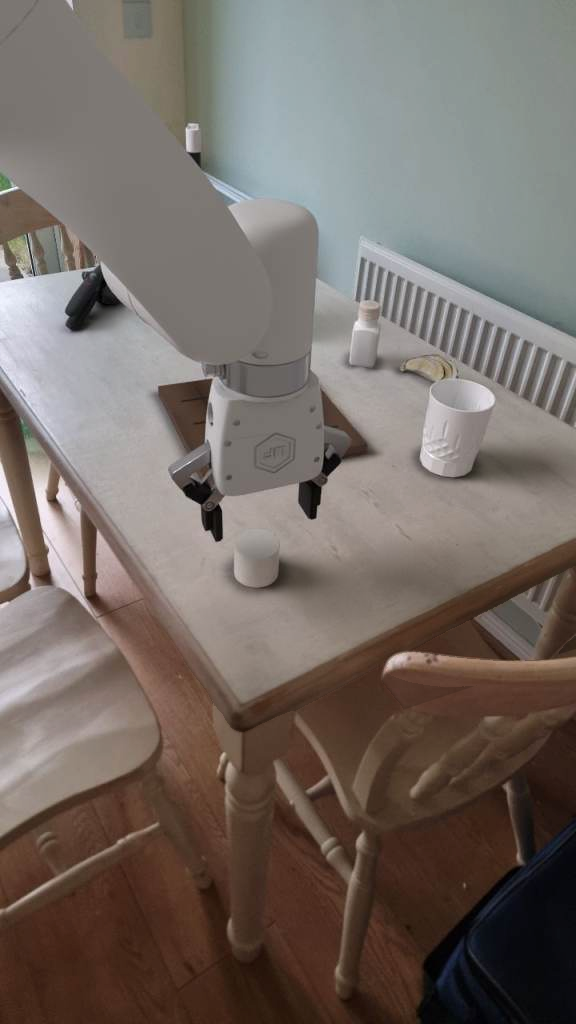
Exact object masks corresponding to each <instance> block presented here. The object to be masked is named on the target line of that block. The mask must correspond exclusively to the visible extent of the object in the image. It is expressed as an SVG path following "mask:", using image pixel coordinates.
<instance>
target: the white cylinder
mask: <svg viewBox="0 0 576 1024" xmlns="http://www.w3.org/2000/svg"><path fill="white" fill-rule="evenodd" d="M233 543H234V545H233V574H234V577H235V579H236V580H237V582H238V583H240V584H241V585H243V586H246V587H248V588H255V589H257V588H264V587H268V586H269V585H272V584H273V583H274V582H275V581H276V580H277V578H278V576H279V567H280V553H281V552H280V551H281V550H280V549H281V543H280V539H279V538H278V536H276V534H275V533H273V532H272V531H270V530H268V529H263V528H250V529H246V530H244V531H241V532H240V533H238V534H237V536H236V537H235V539H234V542H233Z"/></svg>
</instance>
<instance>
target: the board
mask: <svg viewBox="0 0 576 1024" xmlns="http://www.w3.org/2000/svg"><path fill="white" fill-rule="evenodd" d="M213 378H214V377H212V378H205V379H199V380H192V381H185V382H183V381H182V382H177V383H170V384H164V385H158V386H157V392H158V393H157V394H158V397H159V399H160V401H161V403H162V405H163V407H164V409H165V411H166V413H167V415H168V417H169V419H170V421H171V424H172V425H173V427H174V429H175V431H176V433H177V435H178V437H179V440H180V441H181V443H182V445H183V447H184V449H185V451H186V453H187V454H189V453H190V452H192V451H193V450H195V449H196V448H198V447H199V446H201V445H203V444H204V443H205V430H206V416H207V407H208V400H209V394H210V389H211V385H212V381H213ZM320 390H321V397H322V407H323V420H324V425H325V426H329V427H332V428H335V429H339V430H342V431H345V432H346V433H347V435H348V436H349V437H350V438H351V440H352V442H351V444H350V446H349V447H348V449H347V451H346V452H345V454H344V455H343V456H342V457H341V459H344V458H349V457H354V456H359V455H364V454H367V450H368V442H367V441H366V440H365V439H364V437H362V435H361V434H360V433H359V431H358V430H357V429H356V428H355V427H354V426H353V425H352V423H351V422H350V421H349V420H348V418H347V417H346V416H345V415H344V413H342V411H341V410H340V409H339V408H338V407H337V406H336V405H335V404H334V402H333V401H332V399H331V398H330V397H329V396H328V395H327V394H326V393H325V391H324V390H323V389H322V388H321V387H320ZM328 446H329V444H326V443H324V450H326V449H327V448H329V447H328ZM315 459H316V458H315ZM208 471H209V469H208V468H207V465H206V466H204V467H203V468H201V469H199V470H198V471H196V472H195V473H197V475H198V478H199V480H200V481H201V480H202V478H203V477H204V476H205V475H206V473H207V472H208Z"/></svg>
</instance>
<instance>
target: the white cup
mask: <svg viewBox="0 0 576 1024" xmlns="http://www.w3.org/2000/svg"><path fill="white" fill-rule="evenodd" d="M496 402H497V399H496V396H495V394H494V393H493V392H492V390H491V389H489V388H487V386H484V385H483V384H480V383H478V382H475V381H472V380H468V379H463V378H458V379H444V380H440V381H437V382H435V383H434V382H433V383H432V384H431V386H430V387H429V392H428V398H427V403H426V409H425V411H426V412H425V417H424V421H423V430H422V442H421V449H420V456H419V460H420V462H421V464H422V466H423V467H424V468H425V469H426V470H428V471H429V472H430V473H433V474H435V475H438V476H440V477H446V478H458V477H464V476H466V475H468V474H469V473H470V472H471V471H472V469H473V465H474V463H475V460H476V457H477V455H478V453H479V451H480V448H481V446H482V443H483V440H484V437H485V435H486V433H487V429H488V427H489V423H490V420H491V417H492V414H493V412H494V408H495V406H496Z"/></svg>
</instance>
